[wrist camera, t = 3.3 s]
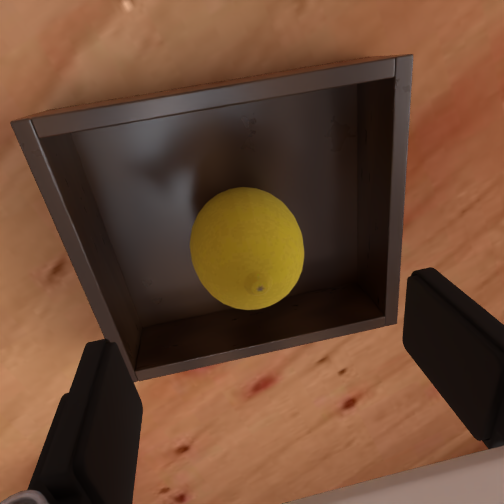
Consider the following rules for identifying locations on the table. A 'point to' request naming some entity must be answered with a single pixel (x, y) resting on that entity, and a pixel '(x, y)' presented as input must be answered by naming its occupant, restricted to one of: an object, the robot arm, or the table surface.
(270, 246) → the lemon
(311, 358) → the table surface
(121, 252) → the dark wooden tray
